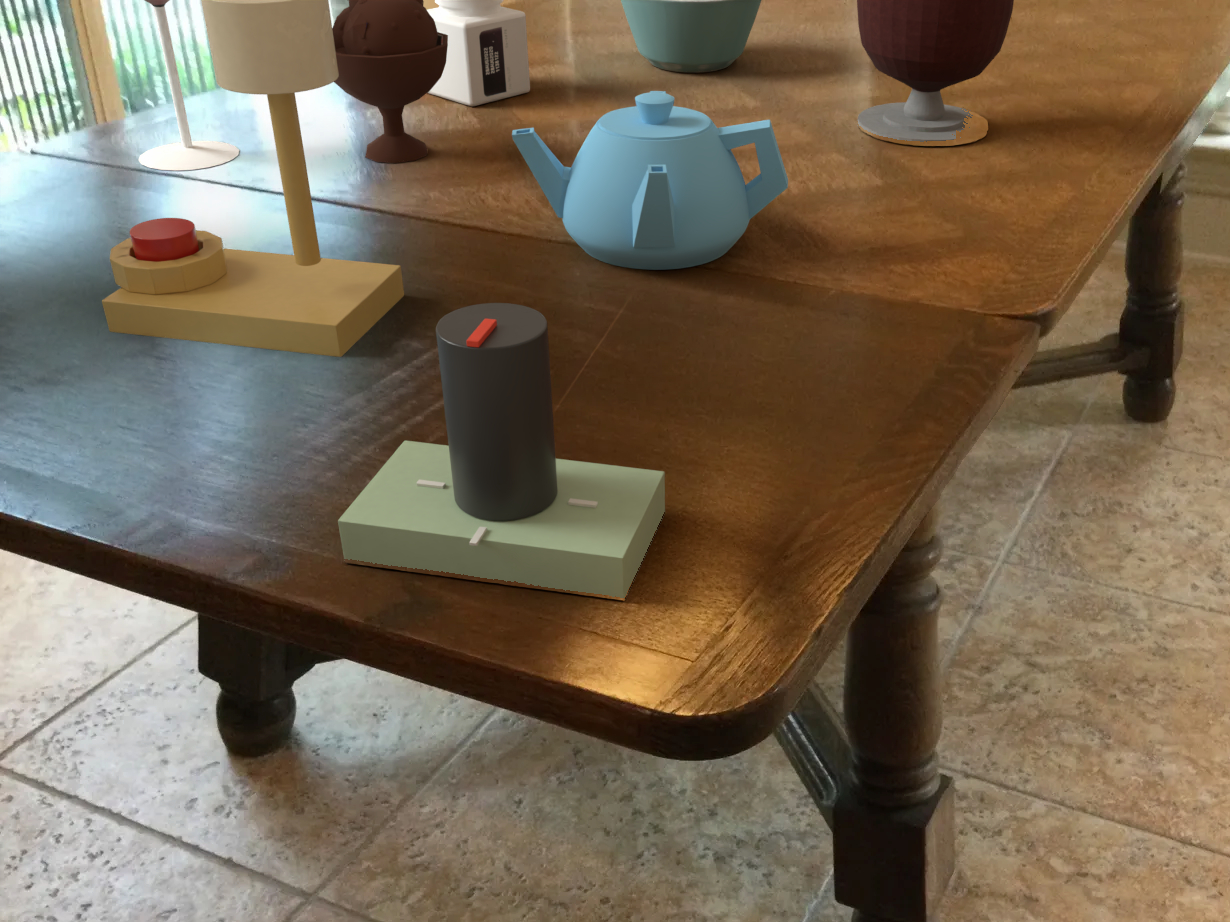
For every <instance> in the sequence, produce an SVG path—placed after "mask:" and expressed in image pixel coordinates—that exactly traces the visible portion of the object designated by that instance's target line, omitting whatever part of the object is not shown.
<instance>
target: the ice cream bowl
mask: <svg viewBox="0 0 1230 922" xmlns="http://www.w3.org/2000/svg"><path fill="white" fill-rule="evenodd" d="M424 2H425V1H424V0H348V6H347V7H345V8H343V9H342V10H341V12H340V13H339V14H338V15H337V16H336V18H335V20H334V23H333V24H332V30H333V37H334V45H335V52H336V59H337V66H338V73H339V76H338V78H337V80H335V81H334V82H333V83H334V84H335V85H337V86H338V87H339V88H340V89H341V90H342V91H343V92H344V93H346V94H347V95H349V96H351V97H353V98H354V99H356V100H358V101H360V102H362V103H365V104H368V105H370V106H373V107H376V108H377V109H378V111H379V113H380V114H381V116H382V125H383V133H382V134H381V135H379V136H378V137H377V138H375V139H373V140H372V141H371V142H369V143H367V145H366V150H365V156H364V157H365V158H366V159H369V160H370V161H373V162H376V163H389V164H399V163H400V164H401V163H406V162H413V161H417V160H419V159H422V158H424V157H426V156H428V151H427V149H428V146H427V144H426V142H425V141H423V140H420V139H418V138H416V137H415V136H413V135H411V134H409V133H407V132H405V126H404V120H403V119H404V118H403V112H404V109H405V107H406V106H407V105H410V104H412V103H414V102H417V101H418V100H420V99H421V98H423V97H424V96H425V95H427V94H429V93H428V92H429V91H430V90H431V89H432V88H433V86H434V85H435V84H436V83H437V82H438V80H439V79H440V78H441V76H442V73H443V70H444V67H445V64H446V58H447V47H448V35H446V34H443V33H439V32H437V28H436V25H435V21H434V19H433V18H432V17H431V15H430V14H429V13H428V11H427V8H426V7H425V6H424Z"/></svg>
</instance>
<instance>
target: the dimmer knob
mask: <svg viewBox="0 0 1230 922" xmlns="http://www.w3.org/2000/svg"><path fill="white" fill-rule="evenodd" d="M435 336H436V345H437V353H438V362H439V364H438V365H439V371H440V380H441V390H442V391H441V392H442V397H443V399H442V400H443V407H444V419H445V426H446V427H445V428H446V434H447V444H448V445H447V446H449V454H450V463H451V472H452V481H453V490H454V498H455V502H456V504H457V505H458V506H459V508H460V509H461V510H462V511H464V512H465V513H467V514H469V515H471V516H474V517H477V518H480V519H485V520H493V521H509V520H517V519H522V518H526V517H529V516H532V515H535V514H537V513H539V512H541V511H543V510H545V509H546V508H547V507H549V506H550V505H551V504H552V503H553V501H554V500H555V498H556V496H557V492H558V490H557V473H556V459H557V458H556V457H557V456H556V441H555V425H554V410H553V409H554V407H553V393H552V377H551V376H552V375H551V360H550V346H549V345H550V344H549V328H548V321H547V318H546V317H545V316H544V315H543V313H541V312H540V311H538V310H536V309H534V308H532V307H529V306H525V305H522V304H517V303H507V302H487V303H478V304H472V305H467V306H464V307H460V308H458V309H455V310H453V311H452V310H451V312H448V313H447V314H445V315H444V316H442V317H441V318H440V319H439V320H438V322H437V324H436V327H435Z"/></svg>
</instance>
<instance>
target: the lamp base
mask: <svg viewBox="0 0 1230 922" xmlns="http://www.w3.org/2000/svg"><path fill="white" fill-rule="evenodd" d="M195 230H196V234H197V239H198V244H199V249H200V251H198V252H197V253H195V254H194V255H190V256H187V257H184V258H180V259H177V260H170V261H160V262H152V261H142V260H138V259H136V258H135V254H134V250H133V246H132V242H131V237H128V238H126V239H124V240H123V241H121V242H120V243H117V244H116V245H115V246H113V247H112V248H110V254H109V262H110V266H111V270H112V274H113V279H114V282H115V285H116V286H119V288H118V289H117V290H115V291H114V292H112V293H111V294H109V295H108V296H106V297H105V298H103V299H102V300H101V303H102V307H103V311H104V316H105V318H106V323H107V326H108V331H109V332H110V333H117V334H127V335H136V336H145V337H152V338H153V337H154V338H162V339H171V340H172V339H173V340H179V341H180V340H181V341H190V342H199V343H207V344H208V343H209V344H218V345H226V346H236V347H244V348H245V347H246V348H253V349H255V348H256V349H263V350H271V351H281V352H289V353H300V354H307V355H317V356H327V357H336V358H341V357H343V356H344V355H345V354H346V353H347V352H348V351H349V350H350V349H351V348H352V347H353V346H354V345H355V344H356V343H357V342H358V341H359V340H360V339H361V338H362V337H363V336H365V335H366V333H368V332H369V330H371V328H372V327H374V326H375V325H376V324H377V322H379V321H380V320H381V319H382V318H383V317H384V316H385V315H386V314H387V313H388V312H389V311H390V310H391V309H392V308H393V307H394V306H395V305H396V304H397V303H398V302H399V301H400V300H401V299H403V297H405V290H404V281H403V272H402V266H401V265H399V264H389V263H388V264H387V263H380V262H379V263H377V262H368V261H360V260H359V261H358V260H357V261H356V260H348V259H337V258H327V257H321V261H320V262H319V263H318V264H315V265H311V266H301V265H298V264H296V262H295V258H294V254H286V253H277V252H276V253H275V252H267V251H266V252H265V251H254V250H244V249H234V248H224V244H223V243H224V242H223V239H222V237H220V236H218V235H216V234H214V233H211V232H209V231H206V230H198V229H195Z"/></svg>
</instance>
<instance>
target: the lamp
mask: <svg viewBox="0 0 1230 922" xmlns="http://www.w3.org/2000/svg"><path fill="white" fill-rule="evenodd" d="M200 1H201V6H202V13H203V18H204V22H205V27H206V33H207V39H208V45H209V50H210V54H211V60H212V65H213V70H214V77H215V82H216V84H217V86H219V88H221V89H223V90H226V91H229V92H233V93H237V94H238V93H240V94H246V95H266V97H267V103H268V109H269V116H270V120H271V121H270V122H271V126H272V131H273V133H272V134H273V139H274V146H275V150H276V151H275V152H276V156H277V162H278V169H279V175H280V180H281V187H282V193H283V198H284V204H285V210H286V216H287V222H288V228H289V233H290V238H291V245H292V252H293V255H294V258H295V262H296V264H298V265H301V266H311V265H315V264H318V263H319V262H320V261H321V258H322V257H321V252H320V245H319V239H318V238H319V237H318V232H317V226H316V219H315V212H314V207H313V201H312V194H311V188H310V181H309V175H308V169H307V162H306V157H305V151H304V144H303V136H302V132H301V124H300V117H299V111H298V105H297V100H296V99H297V98H296V93H303V92H308V91H313V90H316V89H321V88H323V87H325V86H329V85H331V84H332V83H334V81H335V80H337V78H338V76H339V73H338V66H337V59H336V52H335V45H334V37H333V30H332V28H333V24H332V17H331V10H330V3H329V1H330V0H200Z"/></svg>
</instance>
